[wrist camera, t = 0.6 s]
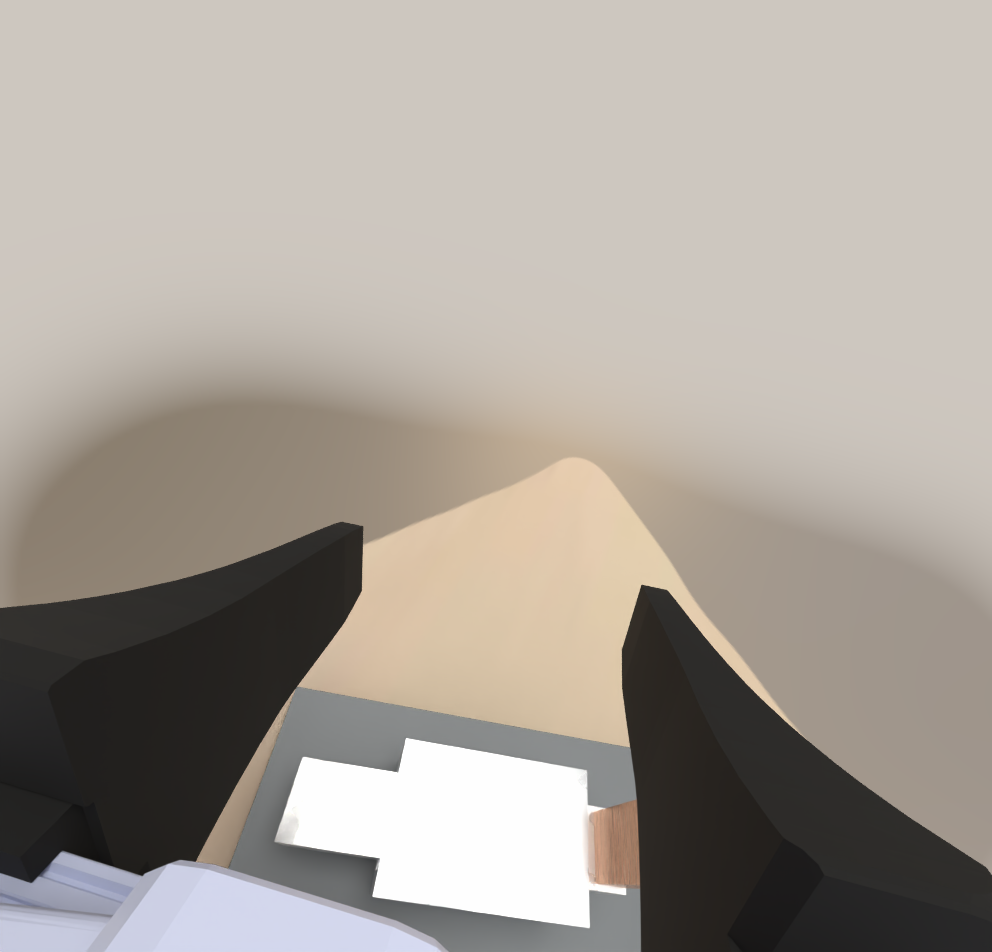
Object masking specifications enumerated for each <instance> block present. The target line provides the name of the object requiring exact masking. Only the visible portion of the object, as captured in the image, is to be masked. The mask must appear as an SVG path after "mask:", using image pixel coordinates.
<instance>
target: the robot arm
mask: <svg viewBox="0 0 992 952" xmlns="http://www.w3.org/2000/svg"><path fill="white" fill-rule="evenodd" d="M362 556H363V526H359V525H354V524H350V523H344V522H339V523H336V524H333V525H331V526H328V527H325V528H323V529H320V530H318V531H315V532H313V533H310V534H308V535H306V536H303V537H301V538H298V539H296V540H293V541H291V542H289V543H286V544H284V545H281V546H279V547H277V548H274V549H271V550H269V551H266V552H263V553H261V554H258V555H255V556H253V557H250V558H247V559H244V560H242V561H239V562H236V563H234V564H231V565H228V566H225V567H222V568H218V569H215V570H212V571H209V572H205V573H202V574H198V575H194V576H191V577H187V578H184V579H180V580H176V581H172V582H167V583H162V584H158V585H154V586H149V587H145V588H140V589H136V590H131V591H126V592H121V593H115V594H110V595H104V596H98V597H91V598H84V599H78V600H71V601H63V602H56V603H48V604H37V605H28V606H17V607H7V608H0V952H448V951H447V950H446V949H445V948H444V947H443V946H442V945H441V944H440V943H439V942H438V941H437V940H436V939H434V938H432V937H430V936H428V935H426V934H424V933H422V932H419V931H417V930H415V929H413V928H411V927H409V926H407V925H404V924H402V923H400V922H398V921H396V920H393V919H389V918H386V917H383V916H380V915H376V914H373V913H370V912H367V911H363V910H360V909H357V908H354V907H350V906H347V905H344V904H341V903H337V902H334V901H331V900H328V899H324V898H321V897H318V896H315V895H311V894H308V893H305V892H302V891H298V890H295V889H292V888H289V887H286V886H282V885H279V884H276V883H273V882H269V881H266V880H263V879H260V878H256V877H253V876H250V875H247V874H243V873H240V872H237V871H234V870H230V869H227V868H224V867H221V866H217V865H214V864H207V863H199V862H196V860H197V858H198V856H199V854H200V852H201V850H202V848H203V846H204V844H205V842H206V840H207V839H208V837H209V835H210V833H211V831H212V829H213V827H214V826H215V824H216V822H217V820H218V818H219V816H220V814H221V813H222V811H223V809H224V807H225V805H226V803H227V802H228V800H229V798H230V796H231V794H232V792H233V790H234V789H235V787H236V785H237V783H238V782H239V780H240V778H241V776H242V775H243V773H244V771H245V769H246V768H247V766H248V764H249V762H250V761H251V759H252V757H253V755H254V754H255V752H256V750H257V748H258V747H259V745H260V743H261V742H262V740H263V738H264V737H265V735H266V733H267V732H268V730H269V728H270V727H271V725H272V723H273V722H274V720H275V718H276V717H277V715H278V713H279V712H280V710H281V709H282V707H283V706H284V704H285V703H286V701H287V700H288V698H289V697H290V695H291V694H292V693H293V691H294V690H295V689H296V687H297V686H298V685H299V683H300V682H301V681H302V679H303V678H304V677H305V675H306V674H307V673H308V671H309V670H310V668H311V667H312V666H313V664H314V663H315V662H316V660H317V659H318V658H319V656H320V655H321V654H322V652H323V651H324V650H325V648H326V647H327V646H328V644H329V643H330V642H331V640H332V639H333V638H334V636H335V635H336V633H337V632H338V631H339V629H340V628H341V627H342V625H343V624H344V622H345V620H346V619H347V617H348V615H349V613H350V612H351V610H352V608H353V606H354V604H355V603H356V601H357V599H358V597H359V595H360V593H361V591H362ZM622 690H623V698H624V706H625V713H626V721H627V728H628V735H629V742H630V749H631V757H632V764H633V771H634V778H635V787H636V798H637V814H638V839H639V870H640V911H641V952H992V875H991V873H990V872H989V871H988V869H987V868H986V867H985V866H983V865H981V864H980V863H979V862H977V861H975V860H974V859H972V858H971V857H969V856H968V855H966V854H965V853H963V852H961V851H960V850H959V849H957V848H955V847H954V846H952V845H951V844H949V843H948V842H946V841H945V840H943V839H941V838H940V837H938V836H937V835H935V834H934V833H932V832H931V831H929V830H927V829H926V828H925V827H923V826H922V825H920V824H919V823H917V822H915V821H914V820H912V819H911V818H909V817H908V816H906V815H905V814H904V813H902V812H901V811H899V810H898V809H896V808H895V807H893V806H892V805H891V804H889V803H888V802H887V801H885V800H884V799H882V798H881V797H879V796H878V795H877V794H875V793H874V792H873V791H871V790H870V789H868V788H867V787H866V786H864V785H863V784H862V783H860V782H859V781H858V780H856V779H855V778H854V777H852V776H851V775H850V774H849V773H847V772H846V771H844V770H843V769H842V768H841V767H839V766H838V765H837V764H835V763H834V762H833V761H832V760H831V759H829V758H828V757H827V756H826V755H824V754H823V753H822V752H821V751H820V750H818V749H817V748H816V747H815V746H813V745H812V744H811V743H810V742H809V741H807V740H806V739H805V738H804V737H803V736H801V735H800V734H799V733H798V732H797V731H796V730H794V729H793V728H792V727H791V726H790V725H789V724H788V723H786V722H785V721H784V720H783V719H782V718H781V717H780V716H779V715H778V714H777V713H776V712H775V711H774V710H773V709H771V708H770V707H769V706H768V705H767V704H766V703H765V702H764V701H763V700H762V699H761V698H760V697H759V696H758V695H757V694H756V693H755V692H754V691H753V690H752V689H751V688H750V687H749V686H748V685H747V684H746V683H745V682H744V681H743V680H742V679H741V678H740V677H739V676H738V674H737V673H736V672H735V671H734V670H733V669H732V668H731V667H730V666H729V665H728V664H727V663H726V661H725V660H724V659H723V658H722V657H721V656H720V655H719V653H718V652H717V651H716V650H715V649H714V648H713V646H712V645H711V644H710V643H709V642H708V640H707V639H706V638H705V637H704V636H703V634H702V633H701V632H700V631H699V629H698V628H697V627H696V626H695V624H694V623H693V622H692V621H691V619H690V618H689V617H688V616H687V614H686V613H685V612H684V610H683V609H682V608H681V607H680V605H679V604H678V603H677V602H676V600H675V599H674V598H673V597H672V595H671V594H670V593H669V592H668V591H667V590H664V589H659V588H655V587H650V586H645V585H641V588H640V592H639V595H638V598H637V602H636V605H635V608H634V612H633V615H632V618H631V622H630V625H629V628H628V632H627V635H626V638H625V642H624V645H623V648H622Z"/></svg>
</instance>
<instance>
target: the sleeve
mask: <svg viewBox="0 0 992 952" xmlns="http://www.w3.org/2000/svg"><path fill="white" fill-rule="evenodd" d="M396 773H398V777H397V781H396V786H395V791H394V795H393V800H392V805H391V810H390V814H389V819H388V824H387V828H386V833H385V838H384V842H383V847H382V852H381V856H380V860H377V862H376V867H375V872H374V876H373V881H372V885H371V890H370V894H371V896H372V897H378V898H385V899H392V900H399V901H406V902H413V903H420V904H427V905H434V906H441V907H448V908H454V909H461V910H468V911H475V912H482V913H489V914H496V915H503V916H510V917H517V918H524V919H531V920H538V921H545V922H551V923H558V924H565V925H572V926H579V927H586V928H590V920H589V861H588V802H587V770H582V769H576V768H570V767H565V766H559V765H553V764H548V763H542V762H536V761H531V760H525V759H519V758H514V757H508V756H502V755H497V754H491V753H485V752H480V751H474V750H468V749H463V748H457V747H451V746H446V745H440V744H434V743H429V742H423V741H417V740H412V739H406V740H405V743H404V746H403V749H402V752H401V755H400V758H399V761H398V765H397V770H396Z"/></svg>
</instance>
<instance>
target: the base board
mask: <svg viewBox="0 0 992 952" xmlns="http://www.w3.org/2000/svg"><path fill="white" fill-rule="evenodd" d="M406 739H412V740H417V741H423V742H429V743H434V744H440V745H446V746H451V747H457V748H463V749H468V750H474V751H480V752H485V753H491V754H497V755H502V756H508V757H514V758H519V759H525V760H531V761H536V762H542V763H548V764H553V765H559V766H565V767H570V768H576V769H582V770H587V802H588V805H589V806H595V807H601V808H609V807H612V806H616V805H619V804H623V803H626V802H629V801H633V800H636V799H637V798H636V787H635V778H634V771H633V764H632V757H631V749H630V748H629V747H623V746H618V745H612V744H607V743H602V742H596V741H591V740H585V739H580V738H574V737H569V736H563V735H558V734H552V733H547V732H541V731H536V730H530V729H525V728H520V727H514V726H509V725H503V724H498V723H492V722H487V721H481V720H476V719H470V718H465V717H459V716H454V715H449V714H443V713H438V712H432V711H427V710H421V709H416V708H410V707H405V706H399V705H394V704H388V703H383V702H377V701H372V700H367V699H361V698H356V697H350V696H345V695H339V694H334V693H328V692H323V691H317V690H312V689H306V688H301V687H297V688H296V690H295V693H294V696H293V698H292V701H291V704H290V706H289V709H288V712H287V714H286V717H285V720H284V722H283V725H282V728H281V730H280V733H279V736H278V738H277V741H276V744H275V746H274V749H273V752H272V754H271V757H270V759H269V762H268V765H267V767H266V770H265V773H264V775H263V778H262V781H261V783H260V786H259V789H258V791H257V794H256V797H255V799H254V802H253V805H252V807H251V810H250V813H249V815H248V818H247V821H246V823H245V826H244V829H243V831H242V834H241V837H240V839H239V842H238V845H237V847H236V850H235V853H234V855H233V858H232V861H231V863H230V866H229V868H228V869H230V870H234V871H237V872H240V873H243V874H247V875H250V876H253V877H256V878H260V879H263V880H266V881H269V882H273V883H276V884H279V885H282V886H286V887H289V888H292V889H295V890H298V891H302V892H305V893H308V894H311V895H315V896H318V897H321V898H324V899H328V900H331V901H334V902H337V903H341V904H344V905H347V906H350V907H354V908H357V909H360V910H363V911H367V912H370V913H373V914H376V915H380V916H383V917H386V918H389V919H393V920H396V921H398V922H400V923H402V924H404V925H407V926H409V927H411V928H413V929H415V930H417V931H419V932H422V933H424V934H426V935H428V936H430V937H432V938H434V939H436V940H437V941H438V942H439V943H440V944H441V945H442V946H443V947H444V948H445V949H446V950H447V951H448V952H641V911H640V889H631V888H626V895H614V894H599V893H592V892H589V920H590V928H586V927H579V926H572V925H565V924H558V923H551V922H545V921H538V920H531V919H524V918H517V917H510V916H503V915H496V914H489V913H482V912H475V911H468V910H461V909H454V908H448V907H441V906H434V905H427V904H420V903H413V902H406V901H399V900H392V899H385V898H378V897H372V896H371V894H370V890H371V885H372V881H373V876H374V872H375V867H376V862H377V860H375V859H368V858H361V857H355V856H348V855H342V854H335V853H328V852H322V851H315V850H309V849H302V848H295V847H289V846H283V845H281V844H278V843H276V842H274V841H275V838H276V835H277V832H278V829H279V826H280V823H281V820H282V817H283V814H284V811H285V808H286V805H287V802H288V799H289V796H290V793H291V790H292V787H293V784H294V781H295V779H296V776H297V773H298V770H299V767H300V764H301V761H302V758H303V757H306V758H312V759H318V760H324V761H329V762H335V763H341V764H347V765H353V766H359V767H365V768H371V769H377V770H383V771H388V772H394V773H396V770H397V765H398V761H399V758H400V755H401V752H402V749H403V746H404V743H405V740H406Z"/></svg>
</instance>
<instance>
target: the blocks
mask: <svg viewBox="0 0 992 952" xmlns="http://www.w3.org/2000/svg"><path fill="white" fill-rule="evenodd" d="M397 777H398V773H394V772H388V771H383V770H377V769H371V768H365V767H359V766H353V765H347V764H341V763H335V762H329V761H324V760H318V759H312V758H306V757H303V758H302V761H301V764H300V767H299V770H298V773H297V776H296V779H295V781H294V784H293V787H292V790H291V793H290V796H289V799H288V802H287V805H286V808H285V811H284V814H283V817H282V820H281V823H280V826H279V829H278V832H277V835H276V838H275V841H274V842H276V843H278V844H281V845H283V846H289V847H295V848H302V849H309V850H315V851H322V852H328V853H335V854H342V855H348V856H355V857H361V858H368V859H375V860H380V856H381V852H382V847H383V842H384V838H385V833H386V828H387V824H388V819H389V814H390V810H391V805H392V800H393V795H394V791H395V786H396V781H397ZM588 861H589V892H592V893H599V894H614V895H626V888H631V889H640V870H639V839H638V814H637V799H636V800H633V801H629V802H626V803H623V804H619V805H616V806H612V807H609V808H601V807H595V806H589V805H588Z"/></svg>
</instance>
